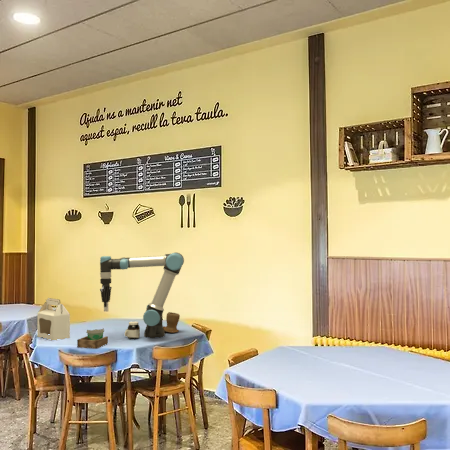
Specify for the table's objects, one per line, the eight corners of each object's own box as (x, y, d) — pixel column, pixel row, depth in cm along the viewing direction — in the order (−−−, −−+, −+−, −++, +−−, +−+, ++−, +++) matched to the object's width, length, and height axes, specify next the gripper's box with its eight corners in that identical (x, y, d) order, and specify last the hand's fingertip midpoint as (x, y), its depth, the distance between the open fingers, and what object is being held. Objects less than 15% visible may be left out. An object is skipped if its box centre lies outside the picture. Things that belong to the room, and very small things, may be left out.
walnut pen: (107, 343, 343) (107, 336, 343) (96, 348, 328) (96, 341, 328) (89, 342, 346) (89, 335, 347) (77, 347, 332) (77, 339, 332)
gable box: (37, 336, 365) (37, 298, 366) (53, 333, 375) (53, 296, 376) (53, 341, 351) (53, 301, 351) (70, 338, 361) (70, 299, 361)
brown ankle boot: (182, 332, 382) (182, 312, 382) (170, 334, 374) (170, 314, 374) (170, 329, 393) (170, 310, 393) (158, 331, 385) (158, 312, 385)
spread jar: (136, 340, 354) (136, 323, 354) (121, 339, 356) (121, 323, 356) (142, 336, 366) (142, 320, 366) (127, 336, 368) (127, 320, 368)
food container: (89, 346, 336) (89, 331, 336) (86, 344, 341) (86, 329, 341) (107, 343, 343) (107, 329, 343) (103, 342, 348) (103, 327, 348)
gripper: (105, 277, 362) (105, 309, 362) (96, 278, 349) (96, 312, 349) (114, 277, 360) (115, 310, 360) (106, 278, 348) (106, 313, 347)
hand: (106, 311), depth 355 cm, fingers closed
